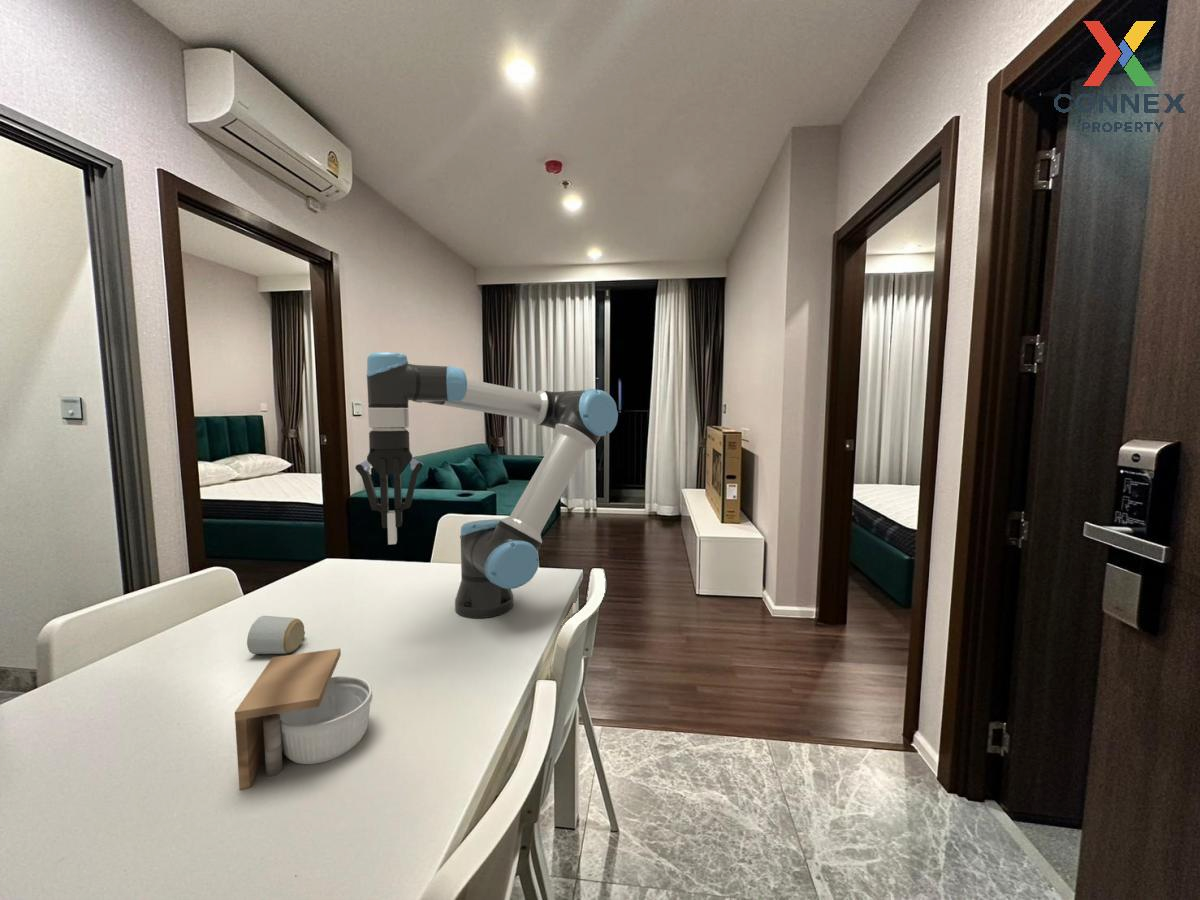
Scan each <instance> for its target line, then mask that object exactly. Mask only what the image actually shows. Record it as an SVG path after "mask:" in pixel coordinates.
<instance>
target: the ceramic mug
mask: <svg viewBox="0 0 1200 900" xmlns="http://www.w3.org/2000/svg"><path fill="white" fill-rule="evenodd" d="M305 634H306V631H305V625H304V622H303V621H302V620H301V619H299V618H296V617H285V616H275V615H274V616H273V615H272V616H271V615H262V616H260V617H258V618H257V619H256V620H255V621H254V622H253V624H251V626H250V629H249V631H248V634H247V640H246V645H247V649H248V651H249V653H251V654H253V655H286V654H291V653H293V652H295V651H296V650H297V649H298V648H299V647H300V645H301V643H302V641H303V640H304V638H305Z"/></svg>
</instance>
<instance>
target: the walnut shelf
mask: <svg viewBox="0 0 1200 900" xmlns="http://www.w3.org/2000/svg"><path fill="white" fill-rule="evenodd" d="M341 655H342V654H341V648H333V649H325V650H317V651H310V652H302V653H295V654H289V655H288V654H287V655H286V654H285V655H280V656H273V657H272V658H271V659H270V660H269V662H268V663H267V665H266V666H265V668H264V669H263V670H262V672H261V673H260V675H259V676H258V677H257V679H256V680H255V682H254V683H253V685H251V688H250V689H249V691H248V692H247V693H246V695H245V697H244V698H243V700H242V701H241V702H240V704H239V705H238V707H236V710H235V711H234V723H235V724H234V725H235V737H236V740H235V741H236V754H237V757H236V759H237V771H238V772H237V773H238V787H239V788H238V789H239V790H246V789H249V788H251V786H252V785H253V782H254V781H255V779H256V776H257V775H258V773H259V770H260V769H261V767H262V764H263V762H264V763H265V775H266V777H274V776H277V775H278V774H280V773H281V772H282V771H283V769H284V765H283V750H282V745H281V725H280V715H279V714H278V713H284V712H290V711H296V710H302V709H308V708H314V707H319V706H320V703H321V701H322V698H323V696H324V694H325V691H326V689H327V686H328V684H329V682H330V679H331V678H332V677H333V675H334V672H335V669H336V668H337V665H338V663H339V660H340V658H341Z"/></svg>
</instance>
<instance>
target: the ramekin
mask: <svg viewBox="0 0 1200 900" xmlns="http://www.w3.org/2000/svg"><path fill="white" fill-rule="evenodd" d="M372 690H373V687H372V685H371V684H370V683H369V682H368V681H367V680H366V679H364V678H361V677H358V676H351V675H349V676H348V675H344V676H343V675H341V676H334V677H333V676H332V677H331V679H330V682H329V684H328V686H327V689H326V691H325V694H324V696H323V698H322V701H321V703H320V706H319V707H314V708H308V709H302V710H296V711H290V712H284V713H278V714H279V715H280V725H281V745H282V753H283V754H284V755H285V757H286V758H287V759H289V760H290V761H292V762H294V763H296V764H299V765H315V764H322V763H325V762H328V761H333V760H335V759H337V758H339V757H341V756H343V755H345V754H347V752H349V751H351V750H352V749H353V748H355V746H356V745H358V743H359V742H360V740H361V739H362V738H363V737H364V735H365V734H366V732H367V729H368V725H369V718H370V711H371V710H370V709H371V703H372V700H373V691H372Z"/></svg>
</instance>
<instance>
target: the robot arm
mask: <svg viewBox="0 0 1200 900" xmlns="http://www.w3.org/2000/svg"><path fill="white" fill-rule="evenodd" d="M366 361H367V366H366V367H367V370H366V382H367V403H368V407H367V415H368V416H367V417H368V418H367V419H368V428H370V429H371V430H369V432H368V444H369V445H368V446H369V452H368V454H367V457H366V460H364V461H362V462H360V463H358V464H357V465H355V467H354V468H355V470H356V471H357V473H359V475H360V476H361V479H362V484H363V486H364V489H365V492H366V493H365V494H366V496H367V499H368V502H369V506H370V508H371V510H372V511H377V512H380V514H381V517H380V518H381V527H382V529H387V546H388V545H396V544H397V542H398V528H401V527H402V526H403V511H404V510H406V509H407V510H409V509H410V508H411V505H412V501H413V497H414V493H415V489H416V485H417V479H418V475H419V474H420V472H421V470H422V469H423V467H424V463H423V461H418V459H415V458H413V454H412V453H411V450H410V431H409V430H407V428H409V427H410V418H409V417H410V415H409V412H410V411H409V401H411V402H414V403H426V404H433V405H440V406H446V407H452V408H459V409H463V410H470V411H476V412H482V413H487V414H493V415H500V416H506V417H512V418H517V419H523V420H530V421H532V423H533V424H534V425H536V426H537V425H538V426H543V427H547V428H551V429H554V430H555V432H556V435H555V437H554V439H553V441H552V443H551V444H550V445H549V447H548V449H547V451H546V453H545V454H544V456H543V458H542V460H541V461H540V463H539V465H538V466H537V468H536V470H535V472H534V474H533V475H532V476H531V479H530V481H529V482H528V484H527V486H526V488H525V489H524V491H523V492H522V494H521V496H520V497H519V500H518V501H517V503H516V505H515V507H514V508H513V510H512V511H511V513H510V515H509V516H508V517H504V518H501V519H500V518H499V519H497V518H496V519H493V518H492V519H491V518H490V519H482V520H473V521H469V522H466V523H463V524H462V525H461V527H460V535H459V538H460V563H461V564H460V570H461V574H460V575H461V579H460V580H461V581H460V583H459V587H458V588H457V589H458V590H457V592H456V596H455V600H454V610H455V611H454V612H456V613H457V614H458V615H460V616H462V617H465V618H471V619H485V618H492V617H496V616H500V615H503V614H505V613H507V612H509V611H510V610H512V609H513V607H514V602H515V601H514V597H515V596H514V593H513V591H512V590H513V589H517V588H520V587H522V586H525V585H526V584H527V583H529V582H530V581H531V580H532V579H533V578H534V576H535V574H536V573H537V571H538V568H539V565H540V559H539V552H538V551H539V550H540V547H541V546H542V544H543V540H542V536H541V533H542V531H543V529H544V528H545V525H546V524H547V522H548V520H549V519H550V517H551V515H552V513H553V511H554V509H555V507H557V504H558V502H559V500H560V499H561V496H562V495H563V493H564V491H565V490H566V488H567V486H568V484H569V482H570V481H571V479H572V477H573V476H574V473H575V471H576V470H577V468H578V466H579V464H580V463H581V461H582V459H583V457H584V456H585V454H586V452H587V451H588V450H589V451H590V450H592V449H595V447H596V446H597V444H598V442H599V440H600V439H601V438H602V437H604V436H606V435H609V434H610V433H612V432H613V431H614V430H615V427H616V426H617V423H618V419H619V418H618V417H619V412H618V410H617V408H618V407H617V403H616V401H615V400H614V398H613V397H612V396H611V395H610V394H609V393H608V392H606V391H605V390H601V389H594V388H588V389H584V390H582V389H581V390H565V391H550V390H549V391H547V390H544V389H540V390H538V391H536V392H534V391H529V390H524V389H518V388H515V387H514V388H513V387H509V386H505V385H500V384H494V383H490V382H489V383H488V382H484V381H479V380H476V379H474V380H473V379H469V378H467V375H466V373H465V371H464V369H463V368H462V367H457V366H451V365H447V366H443V365H422V364H412V363H409V361H408V357H407V355H406V354H405V353H401V352H392V351H376V352H371V353H369V355H367V359H366ZM408 465H410V470H411V471H412V472H411V475H410V478H409V484H408V486H407V487H408V488H407V492H406V495H405V496H406V497H405V500H404V502H403V500H402V499H403V497H402V496H403V495H402V492H403V491H402V474H403V472H404V471H405V470H406V468H407V467H408ZM370 467H372V468H373V469H374V470H375V472H376V473H377V474H379V488H380V489H379V490H380V491H379V494H380V503H379V500H378V496H377V494H376V490H375V486H374V483H373V480H372V477H371V474H370V472H369V471H370V470H371V468H370ZM389 475H393V477H392V478H393V494H394V496H393V497H394V498H393V499H394V510H390V507H389V504H390V503H389Z"/></svg>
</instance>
